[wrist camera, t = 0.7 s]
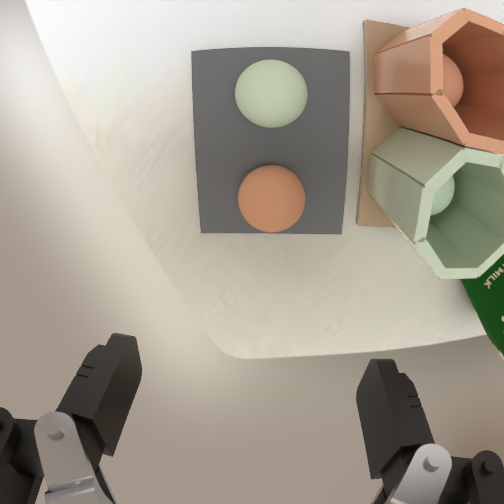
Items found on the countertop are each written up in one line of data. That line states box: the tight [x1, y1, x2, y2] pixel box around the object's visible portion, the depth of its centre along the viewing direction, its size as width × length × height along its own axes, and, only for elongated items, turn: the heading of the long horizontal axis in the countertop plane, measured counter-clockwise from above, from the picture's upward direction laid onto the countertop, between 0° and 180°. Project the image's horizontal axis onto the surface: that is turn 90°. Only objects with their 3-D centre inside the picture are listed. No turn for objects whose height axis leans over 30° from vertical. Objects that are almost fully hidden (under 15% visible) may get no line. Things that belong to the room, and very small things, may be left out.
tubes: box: [356, 8, 504, 279], centre depth 17 cm, size 8×16×10 cm, turn 1°
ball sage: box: [235, 60, 308, 128], centre depth 18 cm, size 4×4×4 cm
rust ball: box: [443, 54, 463, 107], centre depth 17 cm, size 4×4×4 cm
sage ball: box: [430, 175, 455, 216], centre depth 20 cm, size 4×4×4 cm
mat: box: [191, 47, 350, 234], centre depth 22 cm, size 11×14×1 cm
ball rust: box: [238, 165, 305, 232], centre depth 22 cm, size 4×4×4 cm
